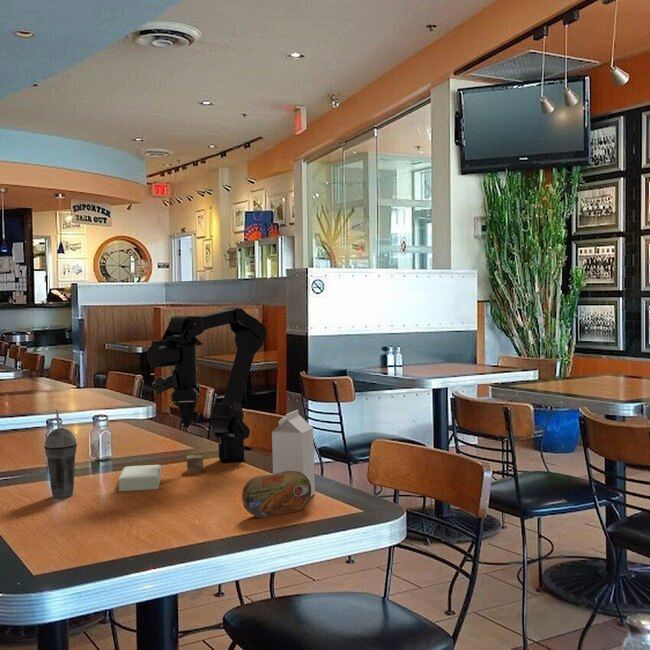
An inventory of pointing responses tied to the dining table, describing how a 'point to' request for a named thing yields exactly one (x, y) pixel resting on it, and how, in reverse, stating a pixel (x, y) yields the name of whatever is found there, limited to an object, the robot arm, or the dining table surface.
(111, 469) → the dining table surface
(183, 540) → the dining table surface
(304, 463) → the milk carton
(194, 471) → the walnut block
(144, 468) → the plinth
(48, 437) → the beverage cup
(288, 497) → the tin
